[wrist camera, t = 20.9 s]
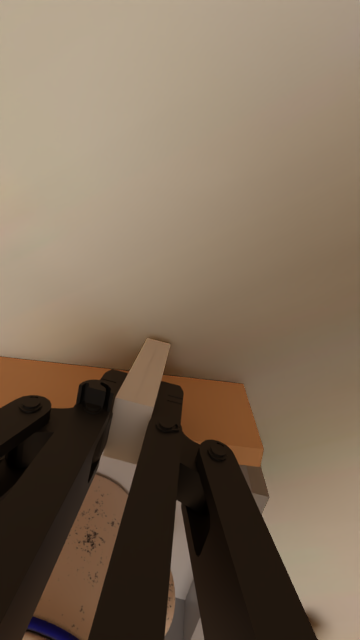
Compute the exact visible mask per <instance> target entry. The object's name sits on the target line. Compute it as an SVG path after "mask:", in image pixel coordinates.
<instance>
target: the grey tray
mask: <svg viewBox="0 0 360 640" xmlns="http://www.w3.org/2000/svg"><path fill="white" fill-rule="evenodd" d="M104 449H105V448H104ZM103 453H104V450H103ZM103 453H102V455H101V458H100V463H99V467H98V469H97V472H96V474H97V475H99V476H102V477H104V478H107V479H109V480H110V481H112V482H114V483H115V484H117V485H118V486H119V487H121V488H122V489H123V490H124V491H125V492H126V493H127V494H129V491H130V487H131V483H132V480H133V476H134V473H135V469H136V466H137V465H136V464H132V463H128V462H125V461H121V460H117V459H113V458H109V457H105V456H103ZM239 466H240V468H241V470H242V473H243V475H244V477H245V479H246V482H247V484H248V486H249V488H250V490H251V493H252V495H253V497H254V499H255V502H256V504H257V506H258V508H259V510H260V513H261V515H262V512H263V510H264V508H265V506H266V503H267V501H268V499H269V494H268V491H267V487H266V483H265V480H264V476H263V473H262V469H261V465H260V467H255V466H247V465H239ZM171 572H172V576H173V580H174V587H175V609H174V615H173V619H172V623H171V625H170V628H169V630H168V632H167V633H166V635H165V638H164V640H204V635H203V629H202V624H201V618H200V612H199V607H198V601H197V595H196V590H195V584H194V578H193V573H192V567H191V561H190V556H189V550H188V544H187V539H186V533H185V527H184V522H183V516H182V510H181V502H179V501H178V500H176V511H175V523H174V534H173V546H172V557H171Z"/></svg>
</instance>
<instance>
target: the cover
mask: <svg viewBox="0 0 360 640" xmlns="http://www.w3.org/2000/svg"><path fill="white" fill-rule="evenodd" d="M109 370H111V369H106V368H97V367H88V366H79V365H70V364H61V363H52V362H43V361H34V360H25V359H16V358H7V357H0V408H1V407H3V406H5V405H6V404H8V403H10V402H12V401H14V400H15V399H18V398H20V397H23V396H28V395H39V396H42V397H45V398H47V399H48V400H50V402H51V404H52V405H51V408H72V407H74V405H75V404H76V400H77V394H78V388H79V384H81V383H82V382H84V381H87V380H95V379H96V380H100V379H101V378H102V376H103V375H104V373H105V372H107V371H109ZM114 370H115V369H114ZM118 371H122V372H126V373H129V371H124V370H118ZM161 381H164V382H167V383H171V384H175V385H179V386H181V388H182V390H183V392H184V395H183V406H182V416H181V426H182V431H183V433H184V434H185V435H186V436H187V437H188V438H189V439H191V440H192V441H194V442H196V443H198V444H201V443H202V442H203V441H205V440H211V439H212V440H217V441H220V442H222V443H224V444H226V445H227V446H228V447H229V448H230V449H231V450H232V452H233V453H234V455H235V457H236V459H237V461H238V464H239V465H247V466H255V467H260V465H261V460H262V455H263V450H264V448H263V445H262V442H261V439H260V436H259V432H258V429H257V426H256V423H255V420H254V417H253V413H252V410H251V407H250V404H249V401H248V397H247V394H246V391H245V388H244V385H243V384H240V383H231V382H222V381H213V380H204V379H196V378H187V377H178V376H169V375H163V376H162V380H161Z"/></svg>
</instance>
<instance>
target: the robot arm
mask: <svg viewBox="0 0 360 640" xmlns="http://www.w3.org/2000/svg"><path fill="white" fill-rule="evenodd" d="M170 345H171V344H169V343H165V342H161V341H157V340H154V339H150V338H147V339H146V341H145V343H144V345H143V347H142V348H141V350H140V352H139V354H138V356H137V358H136V360H135V362H134V363H133V365H132V367H131V369H130V371H129V373H126V372H122V371H118V370H114V369H111V370H109V371H107V372H105V373H104V375H103V376H102V378H101V379H100V380H96V379H95V380H87V381H84V382H82V383H81V384H79V388H78V394H77V400H76V404H75V405H74V407H72V408H51V405H52V404H51V402H50V400H48V399H47V398H45V397H42V396H39V395H28V396H23V397H20V398H18V399H15V400H14V401H12V402H10V403H8V404H6V405H5V406H3V407H1V408H0V640H22V639H23V637H24V634H25V632H26V630H27V628H28V625H29V623H30V621H31V618H32V616H33V614H34V612H35V609H36V607H37V605H38V603H39V600H40V598H41V596H42V594H43V591H44V589H45V587H46V585H47V582H48V580H49V578H50V576H51V573H52V571H53V569H54V567H55V564H56V562H57V560H58V557H59V555H60V553H61V551H62V548H63V546H64V544H65V542H66V539H67V537H68V535H69V533H70V530H71V528H72V526H73V524H74V521H75V519H76V517H77V515H78V512H79V510H80V508H81V506H82V503H83V501H84V499H85V496H86V494H87V492H88V490H89V487H90V485H91V483H92V481H93V478H94V476H95V474H96V472H97V469H98V467H99V463H100V458H101V455H102V453H103V450H104V453H103V456H105V457H109V458H113V459H117V460H121V461H125V462H128V463H132V464H136V465H137V466H136V469H135V473H134V476H133V480H132V483H131V487H130V491H129V494H128V498H127V501H126V505H125V508H124V512H123V516H122V519H121V523H120V526H119V530H118V533H117V537H116V541H115V544H114V548H113V551H112V555H111V559H110V562H109V566H108V569H107V573H106V576H105V580H104V584H103V587H102V591H101V594H100V598H99V601H98V605H97V609H96V612H95V616H94V619H93V623H92V627H91V630H90V634H89V637H88V640H164V638H165V626H166V615H167V603H168V592H169V580H170V569H171V557H172V546H173V534H174V523H175V511H176V500H178V501H179V502H181V510H182V516H183V522H184V527H185V533H186V539H187V544H188V550H189V556H190V561H191V567H192V573H193V578H194V584H195V590H196V595H197V601H198V607H199V612H200V618H201V624H202V629H203V635H204V640H317V637H316V635H315V633H314V631H313V628H312V626H311V624H310V622H309V620H308V617H307V615H306V613H305V611H304V608H303V606H302V604H301V602H300V600H299V597H298V595H297V593H296V591H295V588H294V586H293V584H292V582H291V579H290V577H289V575H288V573H287V571H286V568H285V566H284V564H283V562H282V559H281V557H280V555H279V553H278V551H277V548H276V546H275V544H274V542H273V539H272V537H271V535H270V533H269V530H268V528H267V526H266V524H265V522H264V519H263V517H262V515H261V513H260V510H259V508H258V506H257V504H256V502H255V499H254V497H253V495H252V493H251V490H250V488H249V486H248V484H247V482H246V479H245V477H244V475H243V473H242V470H241V468H240V466H239V464H238V461H237V459H236V457H235V455H234V453H233V452H232V450H231V449H230V448H229V447H228V446H227V445H226V444H224V443H222V442H220V441H217V440H212V439H211V440H205V441H203V442H202V443H201V444H198V443H196V442H194V441H192V440H191V439H189V438H188V437H187V436H186V435H185V434H184V433H183V431H182V426H181V416H182V406H183V395H184V392H183V390H182V388H181V386H179V385H175V384H171V383H167V382H164V381H161V380H162V376H163V372H164V369H165V365H166V361H167V357H168V353H169V349H170ZM104 448H105V449H104Z"/></svg>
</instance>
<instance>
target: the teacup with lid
mask: <svg viewBox="0 0 360 640" xmlns="http://www.w3.org/2000/svg"><path fill="white" fill-rule="evenodd" d="M127 498H128V494H127V493H126V492H125V491H124V490H123V489H122V488H121V487H119V486H118V485H117V484H115V483H114V482H112V481H110V480H109V479H107V478H104V477H102V476H99V475H97V474H95V476H94V478H93V481H92V483H91V485H90V487H89V490H88V492H87V494H86V496H85V499H84V501H83V503H82V506H81V508H80V510H79V512H78V515H77V517H76V519H75V521H74V524H73V526H72V528H71V530H70V533H69V535H68V537H67V539H66V542H65V544H64V546H63V548H62V551H61V553H60V555H59V557H58V560H57V562H56V564H55V567H54V569H53V571H52V573H51V576H50V578H49V580H48V582H47V585H46V587H45V589H44V591H43V594H42V596H41V598H40V600H39V603H38V605H37V607H36V609H35V612H34V614H33V616H32V618H31V621H30V623H29V625H28V628H27V630H26V632H25V634H24V637H23V639H22V640H88V637H89V634H90V630H91V627H92V623H93V619H94V616H95V612H96V609H97V605H98V601H99V598H100V594H101V591H102V587H103V584H104V580H105V576H106V573H107V569H108V566H109V562H110V559H111V555H112V551H113V548H114V544H115V541H116V537H117V533H118V530H119V526H120V523H121V519H122V516H123V512H124V508H125V505H126V501H127ZM174 609H175V587H174V580H173V576H172V572H171V569H170V580H169V592H168V603H167V615H166V626H165V635H166V633H167V632H168V630H169V628H170V625H171V623H172V619H173V615H174Z"/></svg>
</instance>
